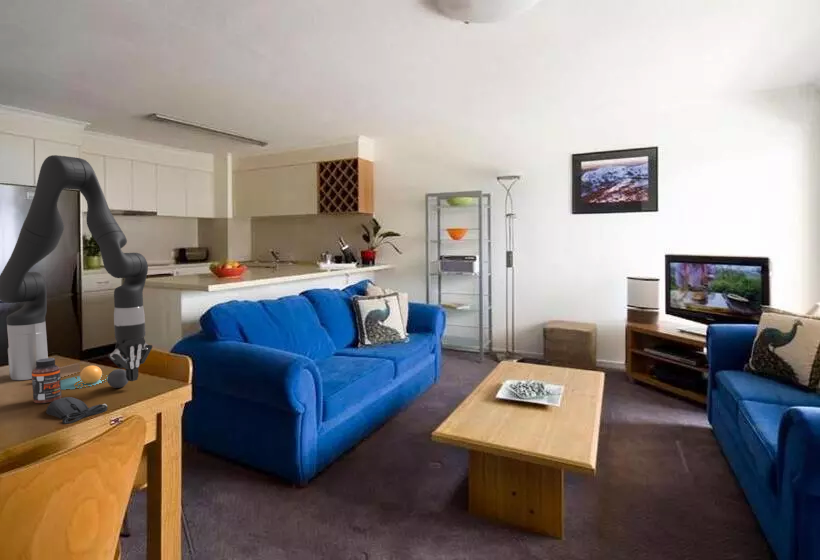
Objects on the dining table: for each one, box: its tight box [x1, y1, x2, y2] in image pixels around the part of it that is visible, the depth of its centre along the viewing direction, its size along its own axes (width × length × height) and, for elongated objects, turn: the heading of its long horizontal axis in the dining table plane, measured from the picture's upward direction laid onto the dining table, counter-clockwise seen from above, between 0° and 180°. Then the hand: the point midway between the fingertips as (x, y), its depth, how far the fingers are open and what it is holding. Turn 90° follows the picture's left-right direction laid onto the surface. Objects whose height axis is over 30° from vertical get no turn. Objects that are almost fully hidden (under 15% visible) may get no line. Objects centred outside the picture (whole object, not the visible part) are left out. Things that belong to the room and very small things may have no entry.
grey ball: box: [106, 368, 129, 389], centre depth 131 cm, size 6×6×6 cm
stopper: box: [59, 362, 81, 379], centre depth 140 cm, size 2×12×3 cm, turn 162°
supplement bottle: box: [31, 357, 62, 404], centre depth 120 cm, size 6×6×11 cm
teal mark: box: [61, 375, 106, 391], centre depth 136 cm, size 14×14×1 cm
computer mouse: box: [45, 396, 108, 425], centre depth 112 cm, size 10×15×4 cm
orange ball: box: [79, 365, 103, 384], centre depth 134 cm, size 6×6×6 cm
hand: (132, 380), depth 129 cm, fingers closed
